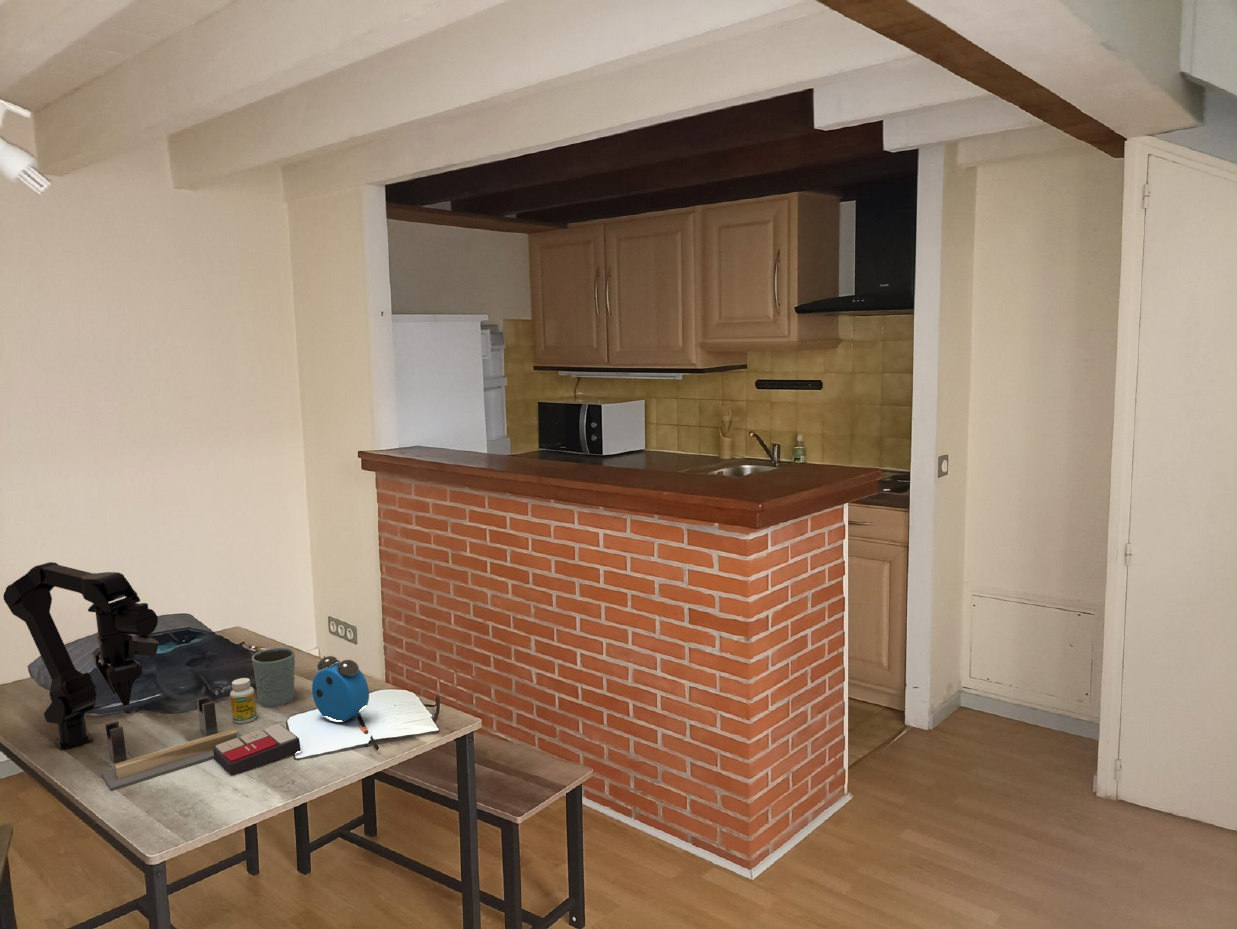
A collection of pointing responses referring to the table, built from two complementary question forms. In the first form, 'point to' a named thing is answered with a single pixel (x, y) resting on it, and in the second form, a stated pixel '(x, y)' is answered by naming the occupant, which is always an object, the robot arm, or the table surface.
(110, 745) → the bracket
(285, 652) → the green plant pot
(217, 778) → the table surface
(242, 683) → the supplement bottle
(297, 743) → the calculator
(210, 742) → the beech rail
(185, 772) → the table surface
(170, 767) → the rubber mat
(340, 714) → the alarm clock
